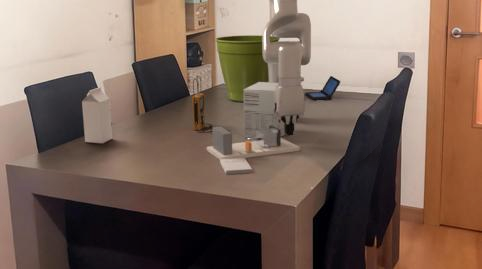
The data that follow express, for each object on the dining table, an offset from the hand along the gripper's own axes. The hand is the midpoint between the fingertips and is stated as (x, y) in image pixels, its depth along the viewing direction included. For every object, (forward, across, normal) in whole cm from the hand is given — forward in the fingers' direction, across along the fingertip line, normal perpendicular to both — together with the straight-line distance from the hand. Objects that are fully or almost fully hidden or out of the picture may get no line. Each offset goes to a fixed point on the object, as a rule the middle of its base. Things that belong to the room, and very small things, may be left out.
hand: (289, 134), depth 217 cm
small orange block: (+2, +18, +6) cm, 19 cm away
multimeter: (+4, +17, -36) cm, 40 cm away
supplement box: (+4, 0, -18) cm, 18 cm away
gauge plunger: (+3, +10, +2) cm, 11 cm away
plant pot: (+4, -19, -83) cm, 86 cm away
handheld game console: (+5, -52, -71) cm, 88 cm away
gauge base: (+4, +14, 0) cm, 14 cm away
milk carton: (+4, +59, -35) cm, 69 cm away
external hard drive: (+5, +26, +15) cm, 30 cm away
